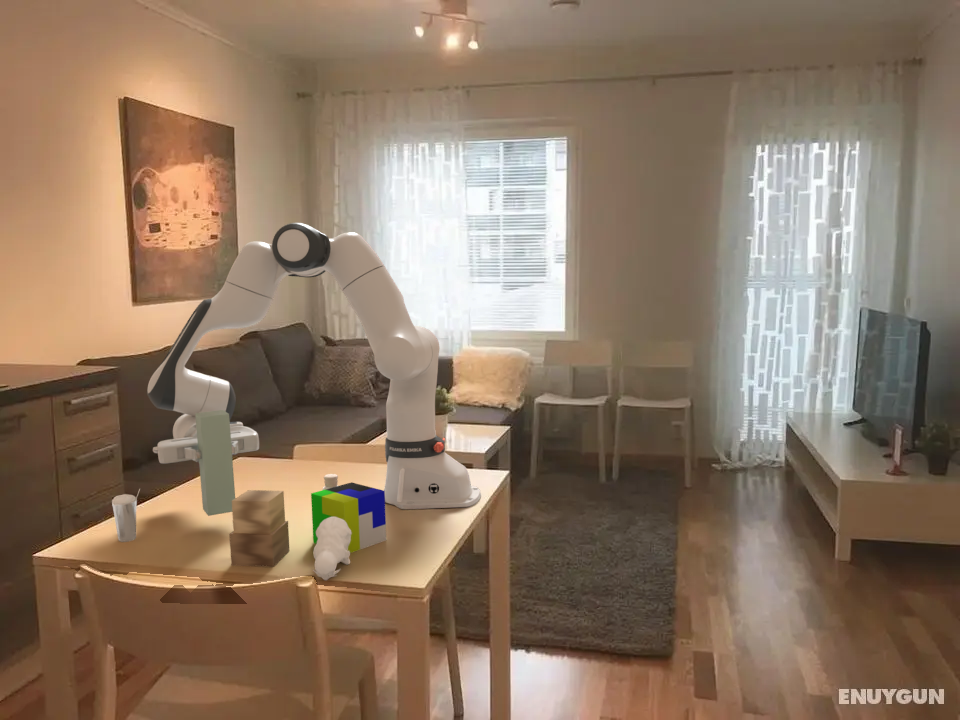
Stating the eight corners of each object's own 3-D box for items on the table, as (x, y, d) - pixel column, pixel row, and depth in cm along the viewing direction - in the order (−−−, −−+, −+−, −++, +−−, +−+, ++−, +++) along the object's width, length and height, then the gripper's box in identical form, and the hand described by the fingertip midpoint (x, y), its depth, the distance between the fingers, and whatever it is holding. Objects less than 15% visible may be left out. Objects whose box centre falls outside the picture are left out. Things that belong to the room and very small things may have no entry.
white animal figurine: (351, 512, 151) (340, 541, 139) (354, 555, 153) (343, 587, 141) (317, 513, 151) (302, 541, 139) (320, 556, 153) (306, 588, 141)
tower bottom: (289, 551, 157) (288, 521, 156) (273, 567, 149) (271, 535, 148) (249, 550, 158) (247, 520, 157) (231, 566, 150) (229, 534, 149)
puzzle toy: (386, 540, 162) (384, 490, 161) (346, 554, 154) (344, 502, 153) (353, 530, 168) (351, 482, 167) (313, 543, 161) (311, 493, 160)
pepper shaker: (328, 522, 174) (325, 471, 172) (351, 524, 172) (349, 472, 170) (314, 530, 169) (312, 477, 167) (338, 532, 167) (335, 479, 165)
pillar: (230, 504, 173) (223, 410, 170) (236, 511, 168) (228, 414, 165) (203, 509, 170) (195, 413, 167) (208, 516, 165) (200, 417, 163)
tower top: (285, 521, 156) (283, 490, 155) (270, 534, 149) (268, 501, 148) (250, 520, 157) (248, 490, 156) (233, 533, 150) (231, 500, 149)
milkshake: (145, 539, 165) (141, 490, 164) (116, 544, 162) (112, 495, 161) (142, 533, 169) (138, 485, 168) (113, 538, 166) (109, 489, 165)
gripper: (150, 433, 173) (160, 445, 161) (248, 420, 183) (264, 431, 171) (152, 462, 174) (162, 476, 162) (250, 448, 184) (266, 460, 172)
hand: (216, 453), depth 167 cm, fingers closed on pillar, 5 cm apart
